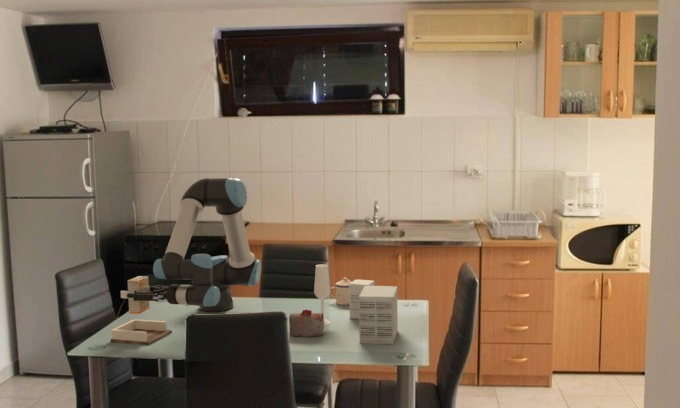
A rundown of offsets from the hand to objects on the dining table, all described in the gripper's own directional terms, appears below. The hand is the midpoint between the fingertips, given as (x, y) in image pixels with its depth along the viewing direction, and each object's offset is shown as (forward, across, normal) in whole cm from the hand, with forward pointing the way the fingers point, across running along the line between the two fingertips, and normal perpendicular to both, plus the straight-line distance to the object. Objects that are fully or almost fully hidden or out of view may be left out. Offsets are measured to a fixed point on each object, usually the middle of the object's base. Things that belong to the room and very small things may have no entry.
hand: (128, 291), depth 268 cm
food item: (-67, +18, -18) cm, 72 cm away
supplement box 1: (-5, 0, -8) cm, 9 cm away
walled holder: (-4, 0, -18) cm, 18 cm away
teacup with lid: (-66, +68, -18) cm, 97 cm away
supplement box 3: (-95, +22, -18) cm, 99 cm away
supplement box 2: (-81, +48, -18) cm, 96 cm away
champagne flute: (-68, +35, -18) cm, 78 cm away
